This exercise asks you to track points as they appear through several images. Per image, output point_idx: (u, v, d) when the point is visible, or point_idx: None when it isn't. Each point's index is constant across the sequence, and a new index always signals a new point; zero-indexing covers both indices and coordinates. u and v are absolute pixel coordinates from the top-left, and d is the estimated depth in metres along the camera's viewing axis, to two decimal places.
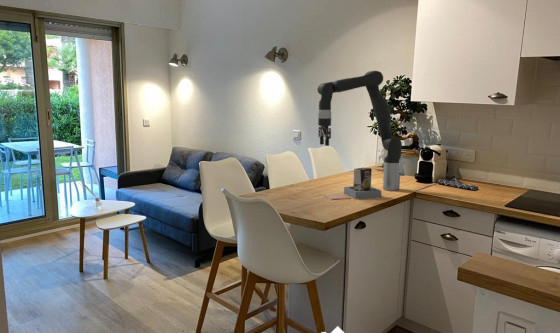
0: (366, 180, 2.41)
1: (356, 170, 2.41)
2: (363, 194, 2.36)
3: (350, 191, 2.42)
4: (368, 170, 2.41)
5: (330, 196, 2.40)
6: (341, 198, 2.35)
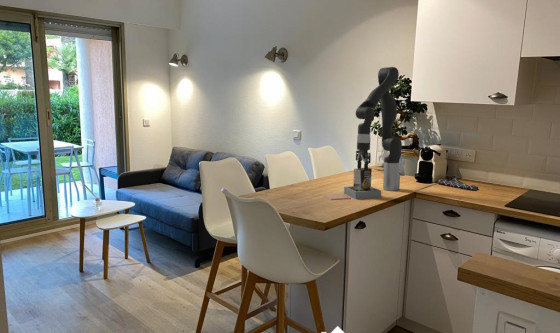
0: (366, 180, 2.41)
1: (356, 170, 2.41)
2: (363, 194, 2.36)
3: (350, 191, 2.42)
4: (368, 170, 2.41)
5: (330, 196, 2.40)
6: (341, 198, 2.35)
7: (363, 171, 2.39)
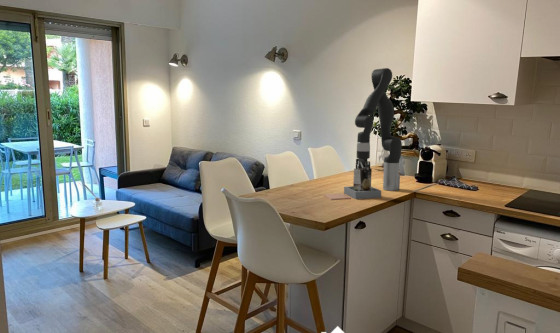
0: (366, 180, 2.41)
1: (356, 170, 2.41)
2: (363, 194, 2.36)
3: (350, 191, 2.42)
4: None
5: (330, 196, 2.40)
6: (341, 198, 2.35)
7: (363, 171, 2.39)
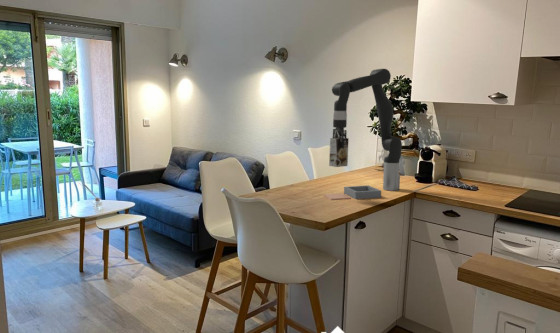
0: (342, 150, 2.34)
1: (332, 139, 2.34)
2: (363, 194, 2.36)
3: (350, 191, 2.42)
4: None
5: (330, 196, 2.40)
6: (341, 198, 2.35)
7: (339, 140, 2.32)
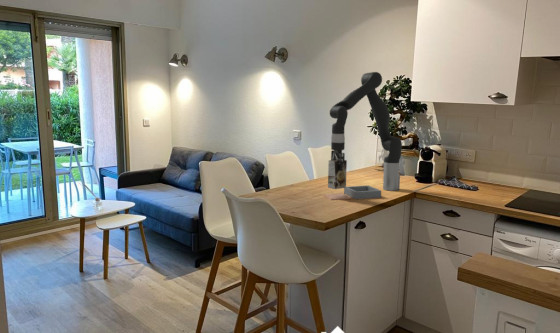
0: (340, 172, 2.36)
1: (330, 162, 2.36)
2: (363, 194, 2.36)
3: (350, 191, 2.42)
4: None
5: (330, 196, 2.40)
6: (341, 198, 2.35)
7: (337, 163, 2.34)
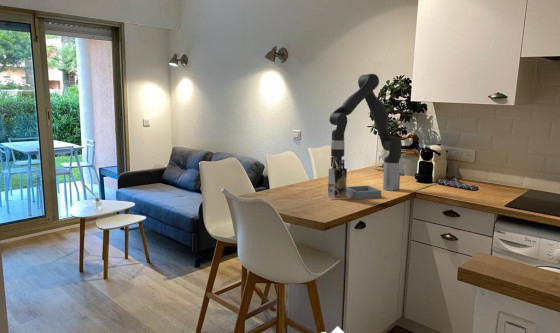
0: (340, 180, 2.37)
1: (330, 170, 2.37)
2: (363, 194, 2.36)
3: (350, 191, 2.42)
4: (343, 170, 2.37)
5: (330, 196, 2.40)
6: (341, 198, 2.35)
7: (337, 171, 2.34)
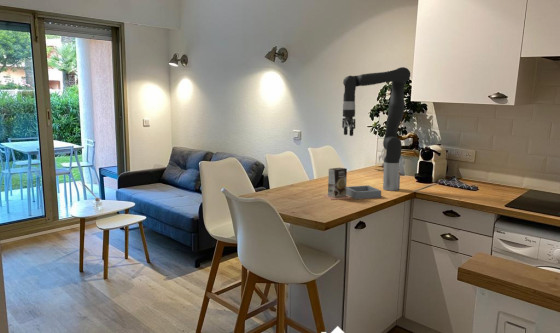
0: (340, 180, 2.37)
1: (330, 170, 2.37)
2: (363, 194, 2.36)
3: (350, 191, 2.42)
4: (343, 170, 2.37)
5: (330, 196, 2.40)
6: (341, 198, 2.35)
7: (337, 171, 2.34)
